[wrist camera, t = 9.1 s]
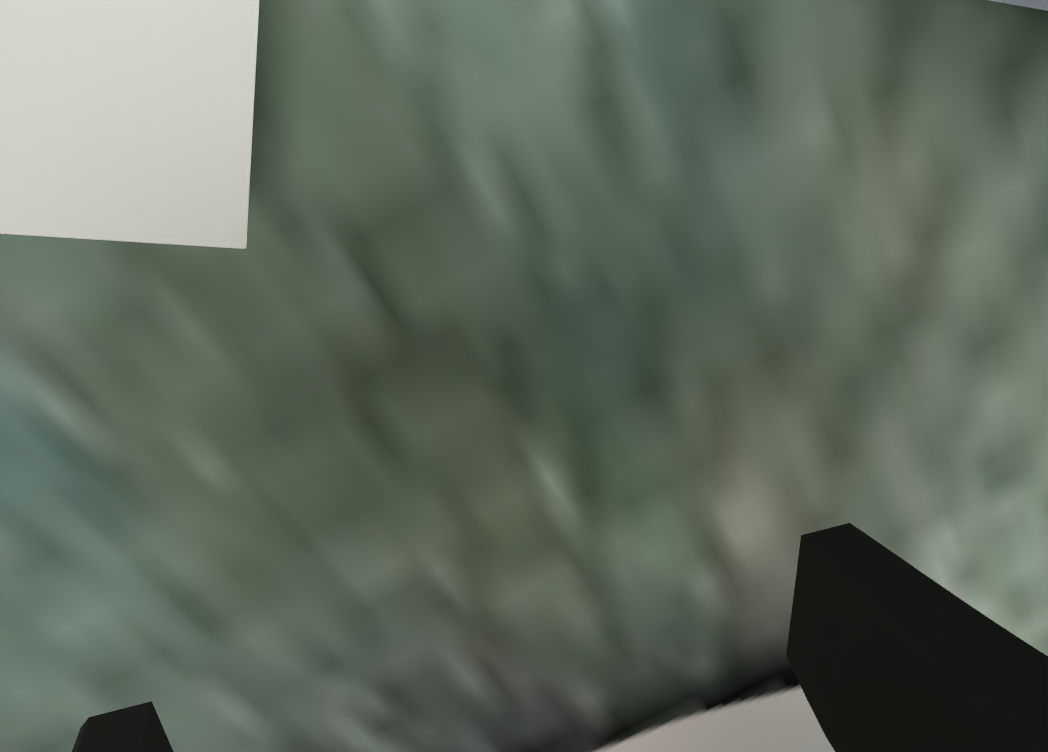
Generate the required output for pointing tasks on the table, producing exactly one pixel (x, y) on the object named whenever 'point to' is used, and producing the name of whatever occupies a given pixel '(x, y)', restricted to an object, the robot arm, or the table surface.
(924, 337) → the table surface
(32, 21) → the fuse block
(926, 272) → the table surface
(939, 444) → the table surface
